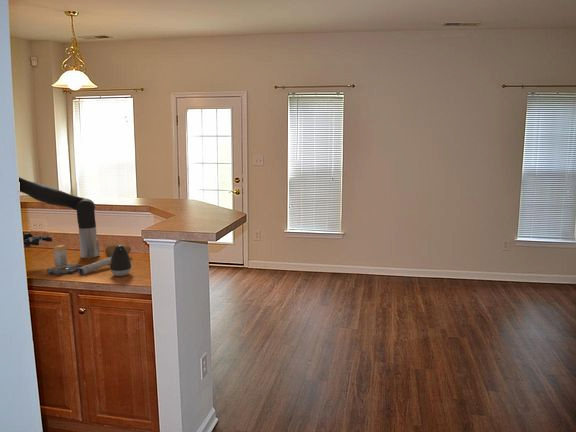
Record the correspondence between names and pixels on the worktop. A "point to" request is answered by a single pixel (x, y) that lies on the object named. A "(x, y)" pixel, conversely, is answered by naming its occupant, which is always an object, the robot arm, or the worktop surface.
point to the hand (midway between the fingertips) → (45, 241)
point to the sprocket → (63, 269)
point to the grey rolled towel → (94, 266)
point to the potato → (112, 246)
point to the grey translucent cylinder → (60, 256)
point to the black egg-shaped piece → (120, 261)
